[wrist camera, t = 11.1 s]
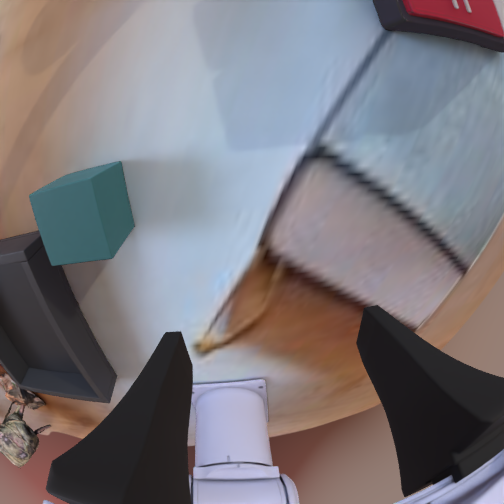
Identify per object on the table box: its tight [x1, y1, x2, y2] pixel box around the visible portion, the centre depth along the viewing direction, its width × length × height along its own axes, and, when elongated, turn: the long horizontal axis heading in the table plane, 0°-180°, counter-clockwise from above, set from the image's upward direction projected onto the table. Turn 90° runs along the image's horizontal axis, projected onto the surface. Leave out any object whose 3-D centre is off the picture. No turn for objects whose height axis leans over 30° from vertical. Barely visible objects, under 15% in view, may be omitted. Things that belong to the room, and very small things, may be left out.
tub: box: [0, 231, 117, 403], centre depth 19 cm, size 17×14×4 cm
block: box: [29, 161, 135, 266], centre depth 15 cm, size 4×4×4 cm
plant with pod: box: [0, 373, 51, 467], centre depth 18 cm, size 8×11×20 cm
